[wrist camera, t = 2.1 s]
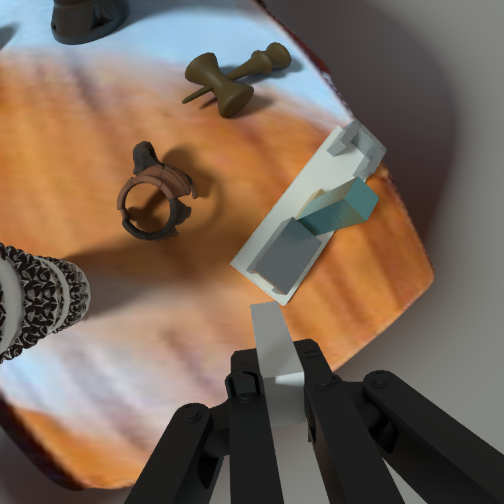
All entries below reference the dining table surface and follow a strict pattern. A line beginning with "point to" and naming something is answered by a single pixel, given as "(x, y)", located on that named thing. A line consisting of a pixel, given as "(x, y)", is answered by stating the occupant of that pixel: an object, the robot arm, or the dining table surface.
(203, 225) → the dining table surface
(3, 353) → the decorative candle
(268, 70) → the kendama
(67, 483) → the dining table surface
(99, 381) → the dining table surface
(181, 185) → the brown grey jagged ring
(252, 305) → the robot arm
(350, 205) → the two-tone teal block
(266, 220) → the base board
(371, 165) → the socket
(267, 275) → the sleeve
